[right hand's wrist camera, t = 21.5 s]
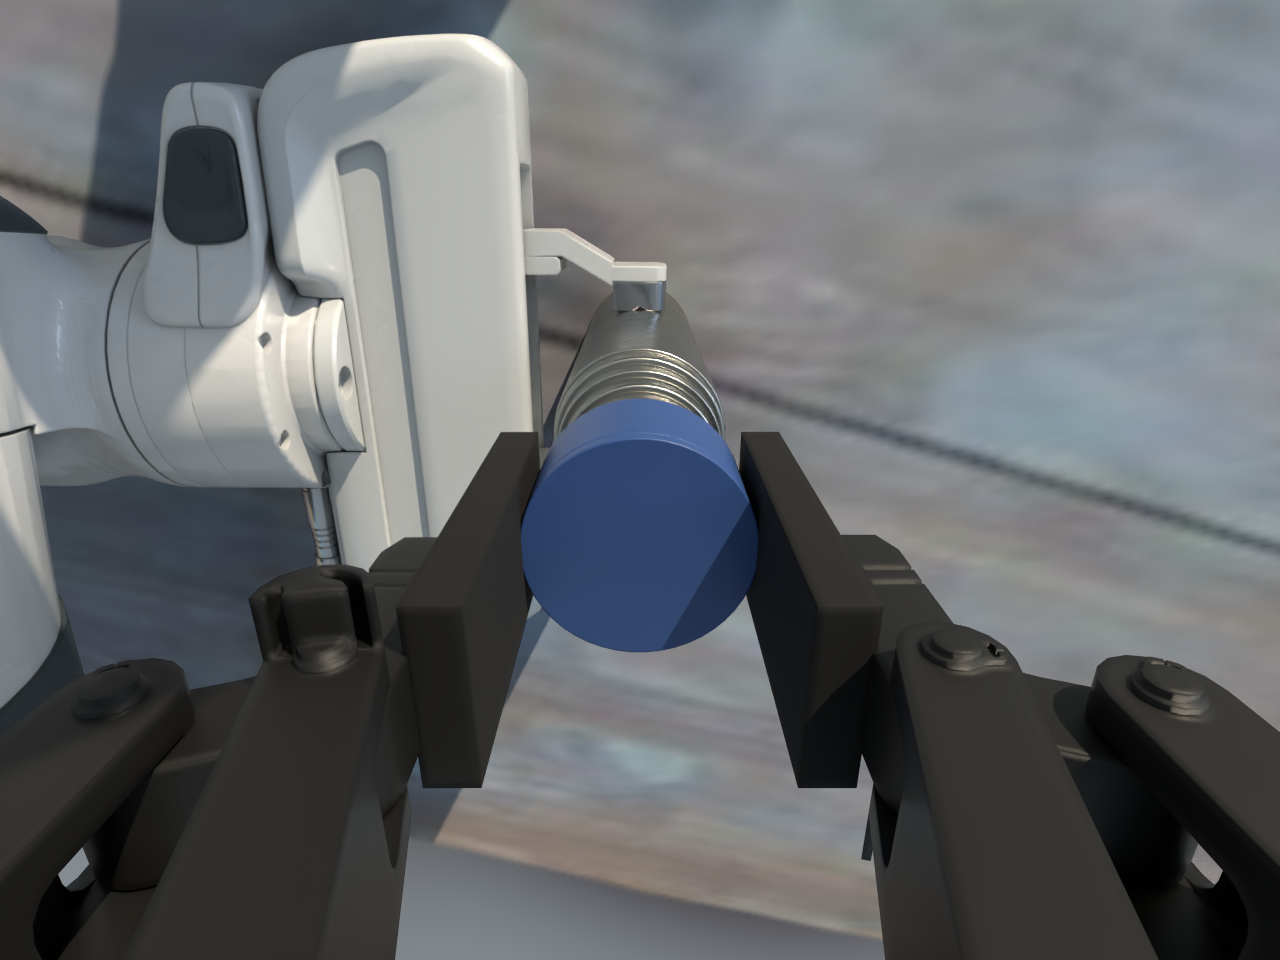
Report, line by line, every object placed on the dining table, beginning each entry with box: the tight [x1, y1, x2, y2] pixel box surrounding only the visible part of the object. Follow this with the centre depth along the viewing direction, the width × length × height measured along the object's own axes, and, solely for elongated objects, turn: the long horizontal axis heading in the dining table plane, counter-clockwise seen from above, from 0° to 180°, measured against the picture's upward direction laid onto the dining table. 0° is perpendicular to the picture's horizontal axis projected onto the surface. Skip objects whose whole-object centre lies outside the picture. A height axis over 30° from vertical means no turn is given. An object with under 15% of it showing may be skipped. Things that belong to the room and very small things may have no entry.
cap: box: [521, 399, 759, 652], centre depth 13 cm, size 4×4×2 cm
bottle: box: [554, 293, 725, 441], centre depth 22 cm, size 4×4×20 cm
